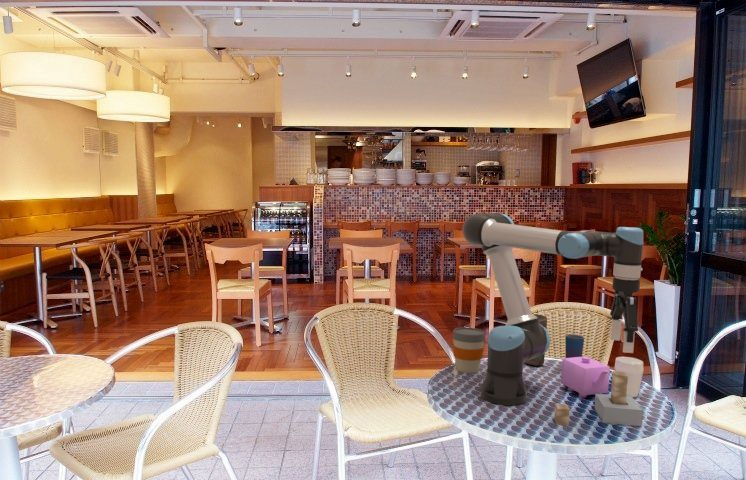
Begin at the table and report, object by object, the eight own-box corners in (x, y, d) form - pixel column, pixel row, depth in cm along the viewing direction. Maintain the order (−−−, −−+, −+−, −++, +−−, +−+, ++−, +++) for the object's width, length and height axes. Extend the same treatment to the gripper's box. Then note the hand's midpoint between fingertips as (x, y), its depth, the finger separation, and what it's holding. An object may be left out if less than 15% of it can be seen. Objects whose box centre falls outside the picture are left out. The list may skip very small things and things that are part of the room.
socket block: (603, 422, 163) (604, 406, 163) (594, 408, 174) (595, 393, 174) (641, 426, 162) (642, 410, 161) (630, 411, 172) (631, 396, 172)
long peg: (612, 418, 166) (615, 374, 165) (609, 414, 170) (612, 371, 169) (624, 420, 166) (627, 375, 165) (621, 415, 169) (624, 372, 168)
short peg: (556, 424, 162) (557, 408, 161) (554, 419, 165) (555, 403, 165) (568, 425, 161) (569, 409, 161) (566, 420, 164) (567, 404, 164)
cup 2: (644, 400, 183) (647, 365, 182) (616, 397, 184) (618, 363, 183) (637, 390, 192) (639, 357, 190) (610, 388, 193) (612, 355, 192)
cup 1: (584, 377, 204) (587, 339, 202) (566, 377, 204) (569, 338, 202) (578, 371, 211) (580, 334, 209) (560, 371, 211) (562, 333, 209)
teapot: (556, 385, 195) (558, 351, 194) (579, 382, 198) (581, 349, 197) (595, 406, 176) (597, 369, 175) (620, 403, 180) (622, 366, 178)
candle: (547, 364, 219) (550, 316, 217) (540, 368, 213) (543, 319, 211) (529, 360, 223) (531, 313, 222) (522, 364, 218) (524, 316, 216)
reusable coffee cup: (486, 366, 214) (488, 329, 213) (479, 376, 203) (481, 337, 201) (456, 362, 219) (457, 325, 218) (447, 371, 208) (448, 332, 206)
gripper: (653, 285, 151) (647, 359, 153) (627, 272, 176) (622, 336, 178) (625, 284, 152) (619, 357, 154) (603, 271, 177) (598, 334, 179)
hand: (621, 346), depth 166 cm, fingers open, 13 cm apart
